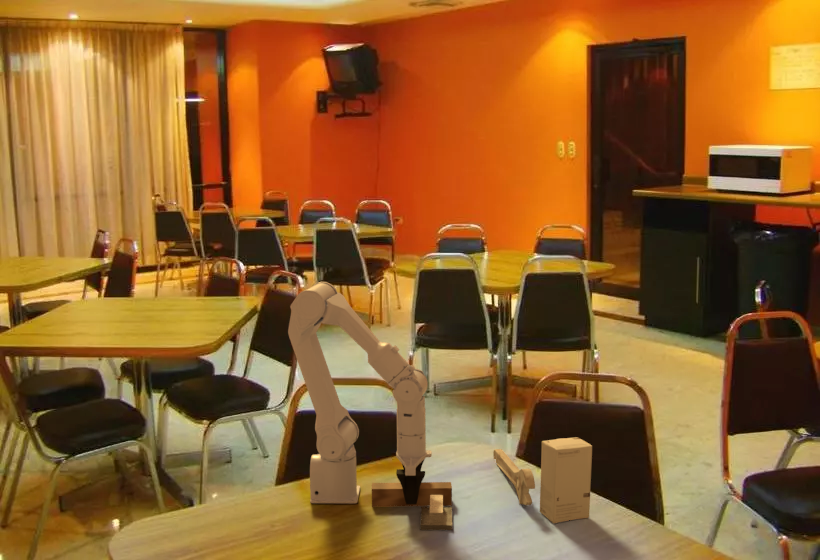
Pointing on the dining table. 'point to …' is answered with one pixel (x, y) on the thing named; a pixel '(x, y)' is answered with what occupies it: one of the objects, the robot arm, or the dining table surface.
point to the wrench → (516, 476)
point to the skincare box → (565, 479)
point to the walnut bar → (395, 497)
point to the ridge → (436, 515)
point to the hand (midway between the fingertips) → (411, 495)
